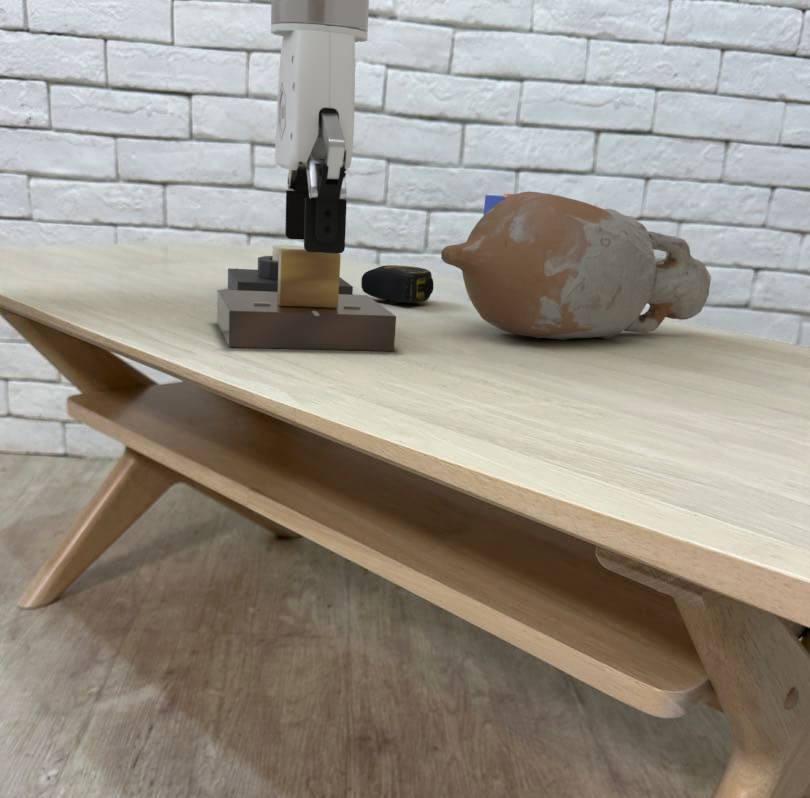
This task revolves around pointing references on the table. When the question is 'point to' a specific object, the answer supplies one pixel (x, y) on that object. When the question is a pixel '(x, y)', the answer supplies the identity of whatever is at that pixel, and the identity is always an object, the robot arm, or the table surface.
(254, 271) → the dark grey stepped block
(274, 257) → the bell button
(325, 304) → the gold rectangular block
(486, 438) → the table surface
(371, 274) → the tape measure
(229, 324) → the plate
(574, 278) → the amphora
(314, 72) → the robot arm
